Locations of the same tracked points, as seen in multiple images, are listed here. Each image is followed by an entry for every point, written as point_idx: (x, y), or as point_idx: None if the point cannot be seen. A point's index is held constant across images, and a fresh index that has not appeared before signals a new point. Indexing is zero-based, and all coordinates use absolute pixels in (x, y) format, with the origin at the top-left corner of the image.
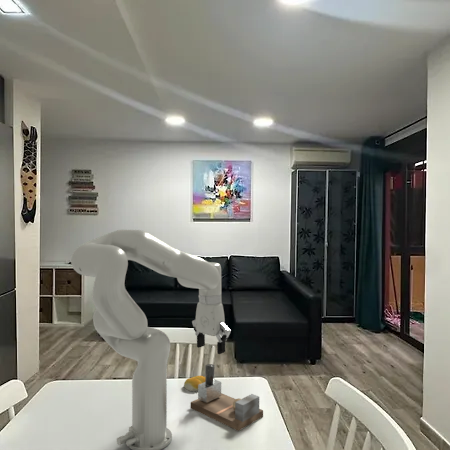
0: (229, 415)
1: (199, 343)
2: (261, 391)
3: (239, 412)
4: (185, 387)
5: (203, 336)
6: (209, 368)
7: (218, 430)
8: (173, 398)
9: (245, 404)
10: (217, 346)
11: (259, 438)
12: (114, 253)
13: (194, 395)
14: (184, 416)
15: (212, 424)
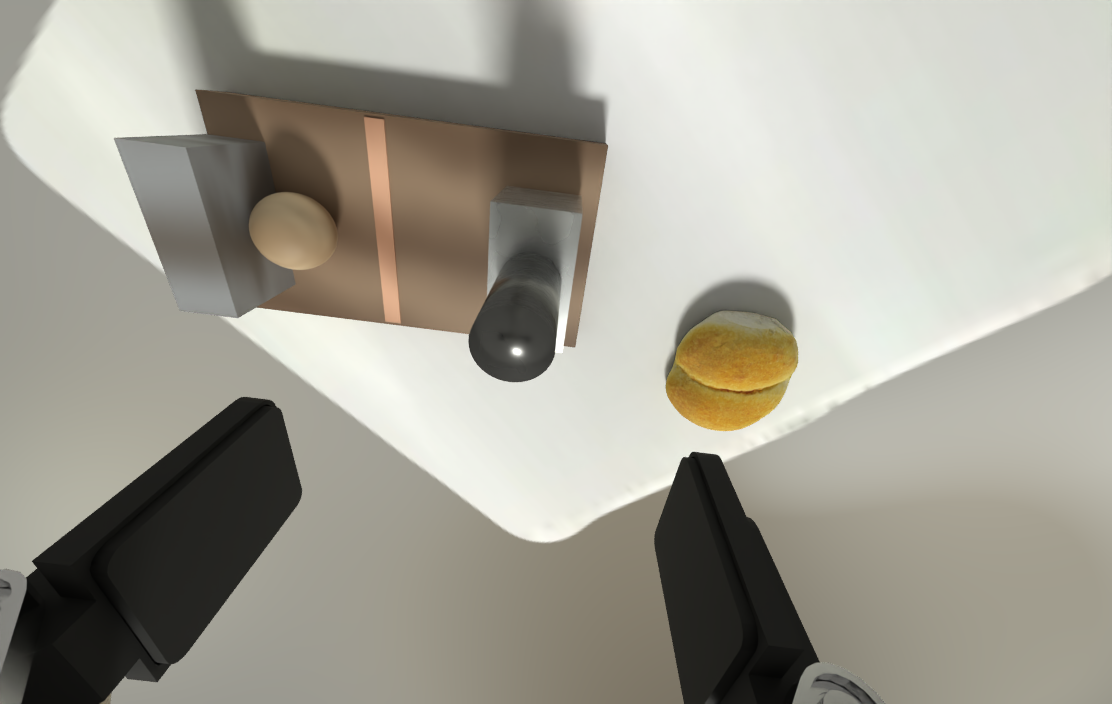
0: (312, 151)
1: (694, 514)
2: (449, 465)
3: (195, 139)
4: (770, 319)
5: (690, 680)
6: (487, 307)
7: (295, 17)
8: (771, 182)
9: (130, 169)
10: (162, 481)
11: (106, 99)
12: None
13: (678, 284)
14: (569, 22)
15: (372, 57)
